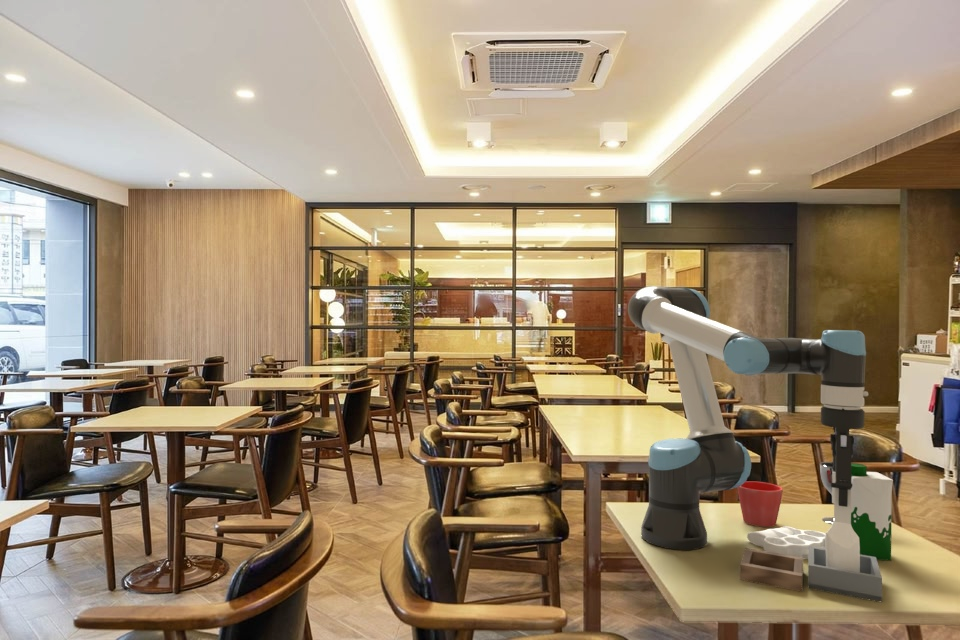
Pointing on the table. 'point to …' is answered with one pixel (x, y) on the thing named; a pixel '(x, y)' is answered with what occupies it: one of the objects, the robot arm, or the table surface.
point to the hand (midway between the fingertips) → (840, 512)
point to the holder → (772, 569)
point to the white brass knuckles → (788, 540)
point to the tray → (844, 577)
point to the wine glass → (827, 482)
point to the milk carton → (871, 511)
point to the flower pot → (760, 503)
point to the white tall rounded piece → (842, 547)
